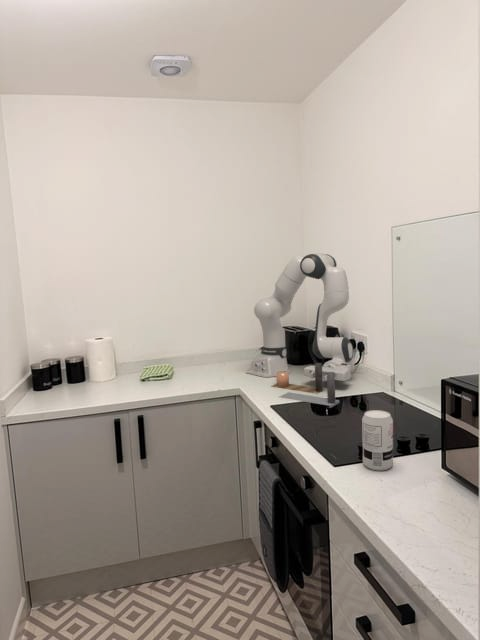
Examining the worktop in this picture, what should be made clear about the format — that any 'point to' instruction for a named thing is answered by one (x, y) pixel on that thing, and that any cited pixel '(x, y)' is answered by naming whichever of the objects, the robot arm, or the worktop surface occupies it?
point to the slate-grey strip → (318, 400)
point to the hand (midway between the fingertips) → (317, 376)
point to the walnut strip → (305, 388)
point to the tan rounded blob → (282, 378)
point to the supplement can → (377, 440)
